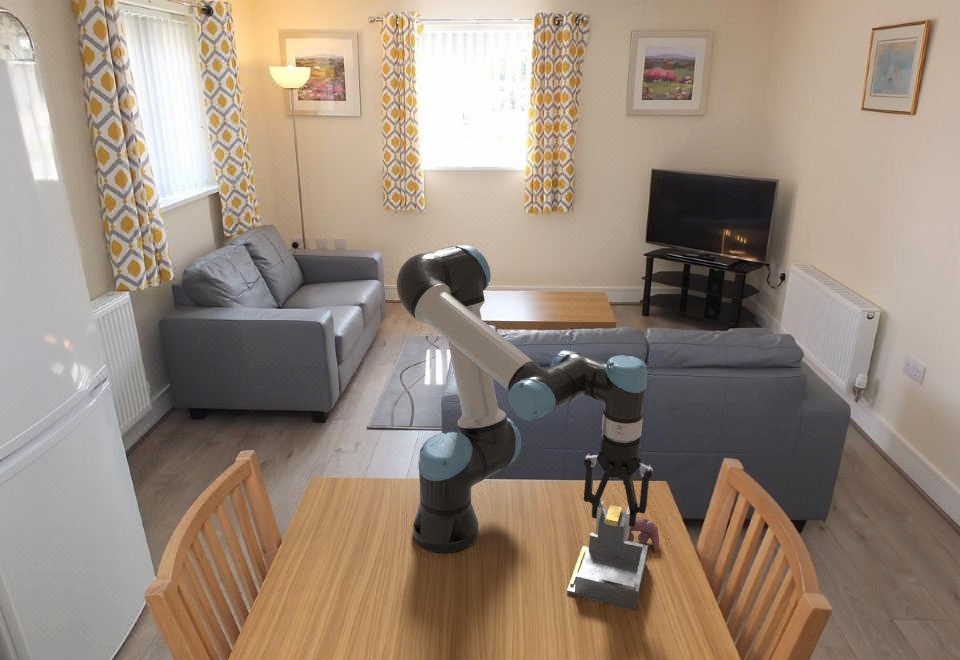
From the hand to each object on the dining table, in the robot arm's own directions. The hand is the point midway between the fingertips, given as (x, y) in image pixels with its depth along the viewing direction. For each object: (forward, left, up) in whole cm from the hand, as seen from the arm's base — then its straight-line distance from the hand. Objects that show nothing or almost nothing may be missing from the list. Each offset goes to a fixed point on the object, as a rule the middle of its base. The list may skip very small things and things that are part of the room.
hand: (612, 533), depth 142 cm
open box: (0, 0, -11) cm, 11 cm away
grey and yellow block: (0, 0, -2) cm, 2 cm away
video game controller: (+4, +14, -12) cm, 18 cm away
